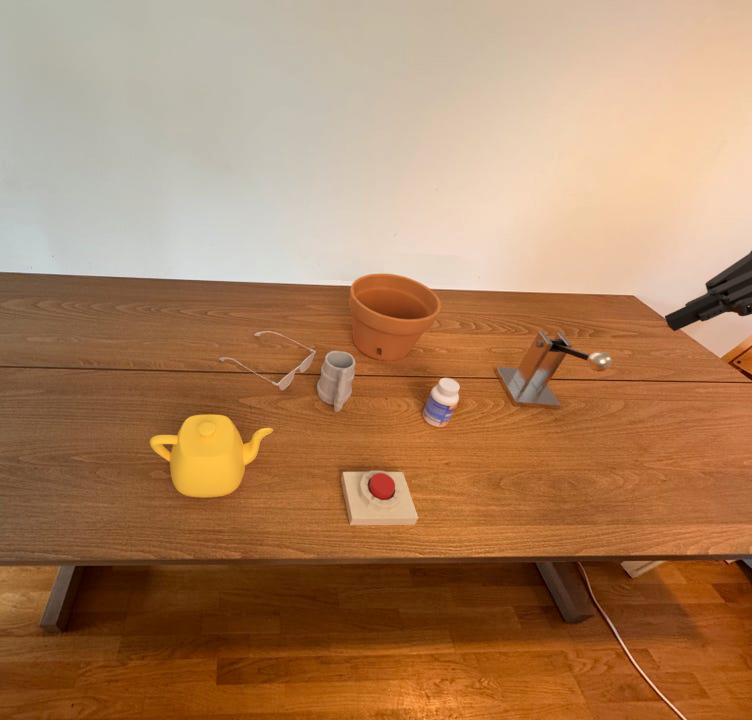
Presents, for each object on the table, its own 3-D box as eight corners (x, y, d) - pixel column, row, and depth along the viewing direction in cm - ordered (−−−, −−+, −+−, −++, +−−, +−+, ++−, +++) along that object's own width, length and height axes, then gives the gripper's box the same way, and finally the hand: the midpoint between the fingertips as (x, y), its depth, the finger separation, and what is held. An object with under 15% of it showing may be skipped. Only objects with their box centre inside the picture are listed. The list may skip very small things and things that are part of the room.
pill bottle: (444, 431, 86) (460, 397, 80) (418, 420, 88) (432, 386, 82) (450, 415, 90) (466, 382, 84) (425, 405, 92) (439, 371, 86)
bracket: (558, 409, 93) (594, 357, 84) (513, 405, 93) (544, 354, 84) (534, 373, 103) (565, 323, 93) (494, 370, 103) (520, 320, 93)
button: (389, 478, 72) (391, 472, 71) (395, 499, 69) (398, 493, 68) (366, 478, 72) (368, 472, 71) (371, 499, 69) (374, 493, 68)
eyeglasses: (277, 397, 91) (278, 383, 89) (216, 361, 99) (215, 348, 97) (315, 362, 101) (317, 349, 99) (256, 333, 109) (257, 320, 106)
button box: (399, 478, 77) (405, 465, 74) (414, 525, 70) (421, 512, 67) (340, 478, 76) (344, 465, 73) (349, 525, 69) (354, 512, 66)
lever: (614, 374, 75) (619, 354, 74) (593, 372, 75) (599, 353, 74) (553, 352, 92) (557, 336, 91) (537, 351, 92) (540, 334, 91)
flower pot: (437, 346, 109) (457, 296, 100) (396, 383, 97) (413, 331, 88) (369, 312, 120) (381, 265, 111) (324, 342, 108) (333, 292, 98)
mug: (348, 383, 96) (358, 341, 88) (354, 421, 87) (366, 378, 79) (315, 381, 96) (322, 339, 88) (317, 419, 87) (325, 376, 79)
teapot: (271, 505, 71) (276, 460, 63) (150, 509, 69) (140, 463, 61) (266, 443, 81) (270, 397, 73) (161, 445, 79) (153, 398, 72)
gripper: (912, 276, 57) (702, 361, 67) (820, 237, 67) (650, 316, 78) (913, 235, 54) (692, 332, 64) (816, 201, 64) (639, 289, 74)
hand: (669, 323), depth 71 cm, fingers closed
